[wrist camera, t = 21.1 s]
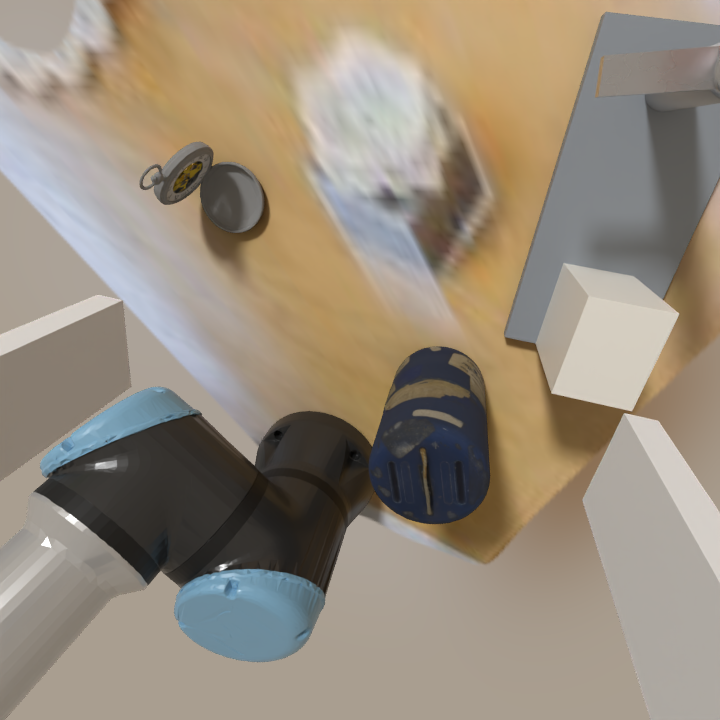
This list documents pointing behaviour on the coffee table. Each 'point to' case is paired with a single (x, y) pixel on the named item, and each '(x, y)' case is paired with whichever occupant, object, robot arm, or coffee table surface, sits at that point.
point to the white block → (602, 336)
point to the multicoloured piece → (660, 72)
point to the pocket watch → (210, 187)
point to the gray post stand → (624, 175)
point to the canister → (433, 439)
